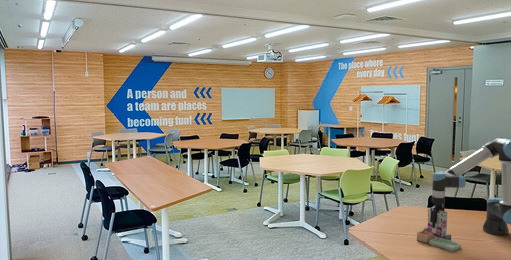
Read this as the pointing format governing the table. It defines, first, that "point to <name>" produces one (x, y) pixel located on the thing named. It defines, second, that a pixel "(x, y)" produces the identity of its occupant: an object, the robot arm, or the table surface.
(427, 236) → the terracotta square pot
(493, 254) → the table surface
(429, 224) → the candy bar box
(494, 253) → the table surface
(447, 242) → the pale green shallow tray
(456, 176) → the robot arm
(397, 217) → the table surface
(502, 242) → the table surface
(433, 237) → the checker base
